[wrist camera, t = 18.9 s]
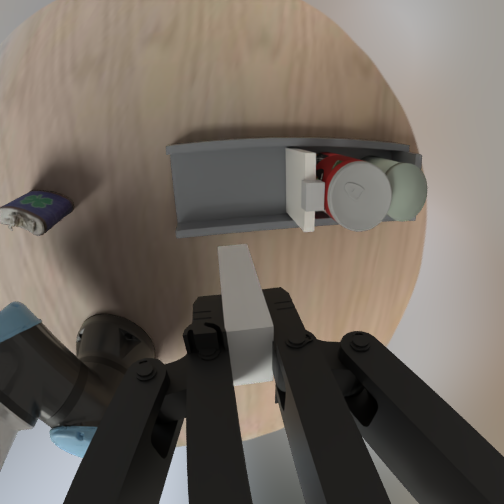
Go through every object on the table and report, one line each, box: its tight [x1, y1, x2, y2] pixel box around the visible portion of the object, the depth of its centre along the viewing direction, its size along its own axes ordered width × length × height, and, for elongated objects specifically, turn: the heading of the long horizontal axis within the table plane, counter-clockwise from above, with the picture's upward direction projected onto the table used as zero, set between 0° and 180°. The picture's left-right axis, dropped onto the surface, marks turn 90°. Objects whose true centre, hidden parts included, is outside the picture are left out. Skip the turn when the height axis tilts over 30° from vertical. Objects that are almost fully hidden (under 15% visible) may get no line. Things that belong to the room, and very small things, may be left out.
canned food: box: [316, 152, 392, 231], centre depth 32 cm, size 8×8×11 cm
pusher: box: [285, 148, 325, 232], centre depth 32 cm, size 2×9×10 cm, turn 2°
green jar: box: [360, 156, 427, 221], centre depth 34 cm, size 7×7×9 cm
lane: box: [166, 137, 422, 238], centre depth 35 cm, size 33×12×7 cm, turn 92°
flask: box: [0, 190, 74, 236], centre depth 29 cm, size 9×3×11 cm, turn 71°
